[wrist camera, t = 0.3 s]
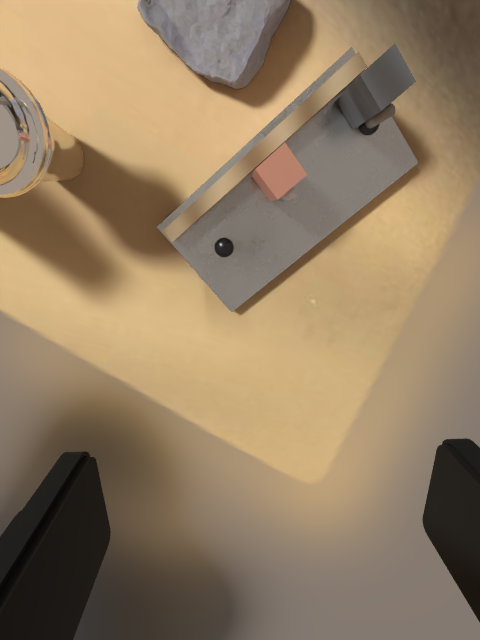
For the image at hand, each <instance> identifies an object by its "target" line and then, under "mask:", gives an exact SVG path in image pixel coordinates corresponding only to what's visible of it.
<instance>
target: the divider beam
mask: <svg viewBox="0 0 480 640" xmlns="http://www.w3.org/2000/svg"><path fill="white" fill-rule="evenodd" d="M366 68H367V65H366V64H365V62H364V60H363V58H362V57H361V55H360V53H359V52H358V53H356V54H355V55H354V56H353V57H352V58H351V59H350V60H349V61H348V62H347V63H345V64H344V65H343V66H342V67H341V68H340V69H339V70H338V71H337V72H336V73H335V74H333V75H332V76H331V77H330V78H329V79H328V80H327V81H326V82H325V83H324V84H323V85H321V86H320V87H319V88H318V89H317V90H316V91H315V92H314V93H313V94H312V95H311V96H309V97H308V98H307V99H306V100H305V101H304V102H303V103H302V104H301V105H300V106H298V107H297V108H296V109H295V110H294V111H293V112H292V113H291V114H290V115H289V116H288V117H286V118H285V119H284V120H283V121H282V122H281V123H280V124H279V125H278V126H277V127H276V128H274V129H273V130H272V131H271V132H270V133H269V134H268V135H267V136H266V137H265V138H263V139H262V140H261V141H260V142H259V143H258V144H257V145H256V146H255V147H254V148H253V149H251V150H250V151H249V152H248V153H247V154H246V155H245V156H244V157H243V158H242V159H241V160H239V161H238V162H237V163H236V164H235V165H234V166H233V167H232V168H231V169H230V170H229V171H227V172H226V173H225V174H224V175H223V176H222V177H221V178H220V179H219V180H218V181H216V182H215V183H214V184H213V185H212V186H211V187H210V188H209V189H208V190H207V191H206V192H204V193H203V194H202V195H201V196H200V197H199V198H198V199H197V200H196V201H195V202H194V203H192V204H191V205H190V206H189V207H188V208H187V209H186V210H185V211H184V212H183V213H182V214H180V215H179V216H178V217H177V218H176V219H175V220H174V221H173V222H172V223H171V224H169V225H168V226H167V227H166V228H165V229H164V230H163V232H164V234H165V235H166V236H167V237H168V238H169V239H170V240H171V242H174V241H175V240H176V239H177V238H179V237H180V236H181V235H182V234H183V233H184V232H185V231H186V230H188V229H189V228H190V227H191V226H192V225H193V224H194V223H195V222H196V221H198V220H199V219H200V218H201V217H202V216H203V215H204V214H205V213H206V212H208V211H209V210H210V209H211V208H212V207H213V206H214V205H215V204H216V203H218V202H219V201H220V200H221V199H222V198H223V197H224V196H225V195H227V194H228V193H229V192H230V191H231V190H232V189H233V188H234V187H235V186H237V185H238V184H239V183H240V182H241V181H242V180H243V179H244V178H245V177H247V176H248V175H249V174H250V173H251V172H252V171H253V170H254V169H256V168H257V167H258V166H259V165H260V164H261V163H262V162H263V161H264V160H266V159H267V158H268V157H269V156H270V155H271V154H272V153H273V152H274V151H276V150H277V149H278V148H279V147H280V146H281V145H282V144H283V143H284V142H286V141H287V140H288V139H289V138H290V137H291V136H292V135H293V134H295V133H296V132H297V131H298V130H299V129H300V128H301V127H302V126H303V125H305V124H306V123H307V122H308V121H309V120H310V119H311V118H312V117H313V116H315V115H316V114H317V113H318V112H319V111H320V110H321V109H322V108H323V107H325V106H326V105H327V104H328V103H329V102H330V101H331V100H332V99H334V98H335V97H336V96H337V95H338V94H339V93H340V92H341V91H342V90H344V89H345V88H346V87H347V86H348V85H349V84H350V83H351V82H352V81H354V80H355V79H356V78H357V77H358V76H359V77H358V78H357V79H356V80H355V81H354V82H353V83H352V84H351V85H350V86H349V87H348V88H347V89H346V90H345V92H344V93H343V94H342V95H341V96H340V97H339V98H338V99H337V100H336V102H337V103H338V105H339V107H340V108H341V110H342V111H343V113H344V115H345V116H346V118H347V120H348V121H349V123H350V124H351V126H352V128H353V129H355V128H357V127H358V126H360V125H361V124H363V123H364V122H365V125H366V127H367V128H373V127H374V126H376V125H378V124H380V123H381V122H383V121H385V120H386V119H388V118H390V117H391V116H393V114H394V113H395V106H394V105H393V104H391V102H392V101H394V100H395V99H396V98H397V97H398V96H399V95H401V94H402V93H403V92H404V91H405V90H406V89H408V88H409V87H410V86H411V85H412V84H413V83H414V82H416V81H415V79H414V77H413V76H412V74H411V72H410V70H409V68H408V66H407V64H406V63H405V61H404V59H403V57H402V55H401V53H400V52H399V50H398V48H397V46H396V44H394V45H393V46H392V47H391V48H389V49H388V50H387V51H386V52H385V53H384V54H383V55H382V56H381V57H379V58H378V59H377V60H376V61H375V62H374V63H373V64H372V65H370V66H369V67H368V68H367V69H366ZM365 69H366V70H365ZM364 70H365V71H364ZM363 71H364V72H363ZM362 72H363V73H362ZM361 73H362V74H361Z"/></svg>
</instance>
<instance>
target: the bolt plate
mask: <svg viewBox="0 0 480 640" xmlns="http://www.w3.org/2000/svg"><path fill="white" fill-rule="evenodd" d="M354 55H355V52H354V50H353V48H352V47H351V48H350V49H349V50H348V51H347V52H346V53H345V54H344V55H343V56H342V57H341V58H339V59H338V60H337V61H336V62H335V63H334V64H333V65H332V66H331V67H330V68H329V69H328V70H326V71H325V72H324V73H323V74H322V75H321V76H320V77H319V78H318V79H317V80H316V81H314V82H313V83H312V84H311V85H310V86H309V87H308V88H307V89H306V90H305V91H304V92H303V93H301V94H300V95H299V96H298V97H297V98H296V99H295V100H294V101H293V102H292V103H291V104H290V105H288V106H287V107H286V108H285V109H284V110H283V111H282V112H281V113H280V114H279V115H278V116H277V117H275V118H274V119H273V120H272V121H271V122H270V123H269V124H268V125H267V126H266V127H265V128H264V129H262V130H261V131H260V132H259V133H258V134H257V135H256V136H255V137H254V138H253V139H252V140H251V141H249V142H248V143H247V144H246V145H245V146H244V147H243V148H242V149H241V150H240V151H239V152H238V153H236V154H235V155H234V156H233V157H232V158H231V159H230V160H229V161H228V162H227V163H226V164H225V165H223V166H222V167H221V168H220V169H219V170H218V171H217V172H216V173H215V174H214V175H213V176H211V177H210V178H209V179H208V180H207V181H206V182H205V183H204V184H203V185H202V186H201V187H200V188H198V189H197V190H196V191H195V192H194V193H193V194H192V195H191V196H190V197H189V198H188V199H187V200H185V201H184V202H183V203H182V204H181V205H180V206H179V207H178V208H177V209H176V210H175V211H174V212H172V213H171V214H170V215H169V216H168V217H167V218H166V219H165V220H164V221H163V222H162V223H161V224H159V225H158V226H157V228H158V229H159V230H160V232H161V233H162V234H163V235H164V236H165V237H166V238H167V240H168V241H169V242H170V243H171V244H172V245H173V246H174V247H175V249H176V250H177V251H178V252H179V253H180V254H181V255H182V257H183V258H184V259H185V260H186V261H187V262H188V263H189V264H190V266H191V267H192V268H193V269H194V270H195V271H196V272H197V274H198V275H199V276H200V277H201V278H202V279H203V280H204V282H205V283H206V284H207V285H208V286H209V287H210V288H211V289H212V291H213V292H214V293H215V294H216V295H217V296H218V297H219V299H220V300H221V301H222V302H223V303H224V304H225V305H226V306H227V308H228V309H229V310H230V311H231V312H233V311H234V310H235V309H237V308H238V307H239V306H240V305H242V304H243V303H244V302H245V301H247V300H248V299H249V298H250V297H252V296H253V295H254V294H255V293H257V292H258V291H259V290H260V289H262V288H263V287H264V286H265V285H267V284H268V283H269V282H270V281H272V280H273V279H274V278H275V277H277V276H278V275H279V274H280V273H282V272H283V271H284V270H285V269H287V268H288V267H289V266H290V265H292V264H293V263H294V262H295V261H297V260H298V259H299V258H300V257H301V256H303V255H304V254H305V253H306V252H308V251H309V250H310V249H311V248H313V247H314V246H315V245H316V244H318V243H319V242H320V241H321V240H323V239H324V238H325V237H326V236H328V235H329V234H330V233H331V232H333V231H334V230H335V229H336V228H338V227H339V226H340V225H341V224H343V223H344V222H345V221H346V220H348V219H349V218H350V217H351V216H353V215H354V214H355V213H356V212H358V211H359V210H360V209H361V208H363V207H364V206H365V205H366V204H368V203H369V202H370V201H371V200H373V199H374V198H375V197H376V196H378V195H379V194H380V193H381V192H383V191H384V190H385V189H386V188H388V187H389V186H390V185H391V184H393V183H394V182H395V181H396V180H398V179H399V178H400V177H401V176H403V175H404V174H405V173H406V172H408V171H409V170H410V169H411V168H413V167H414V166H415V165H416V164H418V163H419V162H418V161H417V159H416V157H415V156H414V154H413V152H412V150H411V149H410V147H409V145H408V143H407V142H406V140H405V138H404V137H403V135H402V133H401V131H400V130H399V128H398V126H397V124H396V123H395V121H394V119H393V118H392V116H391V117H390V118H388V119H386V120H385V121H383V122H381V123H380V124H378V125H376V126H374V127H373V128H367V127H366V125H365V122H364V123H363V124H361V125H360V126H358V127H357V128H355V129H353V128H352V126H351V124H350V123H349V121H348V120H347V118H346V116H345V115H344V113H343V111H342V110H341V108H340V107H339V105H338V103H337V102H336V100H337V99H338V98H339V97H340V96H341V95H342V94H343V93H344V92H345V90H346V89H347V88H348V87H349V86H350V85H351V84H352V83H353V82H354V81H355V80H356V79H357V78H358V77H359V76H358V77H357V78H356V79H355V80H354V81H352V82H351V83H350V84H349V85H348V86H347V87H346V88H345V89H344V90H342V91H341V92H340V93H339V94H338V95H337V96H336V97H335V98H334V99H332V100H331V101H330V102H329V103H328V104H327V105H326V106H325V107H323V108H322V109H321V110H320V111H319V112H318V113H317V114H316V115H315V116H313V117H312V118H311V119H310V120H309V121H308V122H307V123H306V124H305V125H303V126H302V127H301V128H300V129H299V130H298V131H297V132H296V133H295V134H293V135H292V136H291V137H290V138H289V139H288V140H287V141H286V142H284V143H286V145H287V146H288V147H289V149H290V150H291V152H292V153H293V155H294V156H295V158H296V159H297V160H298V162H299V163H300V165H301V166H302V168H303V169H304V171H305V172H306V173H307V175H306V176H305V177H304V178H303V179H301V180H300V181H299V182H298V183H297V184H296V185H295V186H293V187H292V188H295V189H296V190H297V196H296V198H295V199H293V200H287V201H283V200H282V199H281V198H279V199H278V200H275V201H271V202H270V201H269V200H268V198H267V197H266V196H265V194H264V193H263V192H262V190H261V189H260V188H259V186H258V185H257V183H256V182H255V181H254V179H253V178H252V177H251V176H252V174H253V172H254V170H255V169H254V170H253V171H252V172H251V173H250V174H249V175H248V176H247V177H245V178H244V179H243V180H242V181H241V182H240V183H239V184H238V185H237V186H235V187H234V188H233V189H232V190H231V191H230V192H229V193H228V194H227V195H225V196H224V197H223V198H222V199H221V200H220V201H219V202H218V203H216V204H215V205H214V206H213V207H212V208H211V209H210V210H209V211H208V212H206V213H205V214H204V215H203V216H202V217H201V218H200V219H199V220H198V221H196V222H195V223H194V224H193V225H192V226H191V227H190V228H189V229H188V230H186V231H185V232H184V233H183V234H182V235H181V236H180V237H179V238H177V239H176V240H175V241H174V242H171V240H170V239H169V238H168V237H167V236H166V235H165V234H164V232H163V230H164V229H165V228H166V227H167V226H168V225H169V224H171V223H172V222H173V221H174V220H175V219H176V218H177V217H178V216H179V215H180V214H182V213H183V212H184V211H185V210H186V209H187V208H188V207H189V206H190V205H191V204H192V203H194V202H195V201H196V200H197V199H198V198H199V197H200V196H201V195H202V194H203V193H204V192H206V191H207V190H208V189H209V188H210V187H211V186H212V185H213V184H214V183H215V182H216V181H218V180H219V179H220V178H221V177H222V176H223V175H224V174H225V173H226V172H227V171H229V170H230V169H231V168H232V167H233V166H234V165H235V164H236V163H237V162H238V161H239V160H241V159H242V158H243V157H244V156H245V155H246V154H247V153H248V152H249V151H250V150H251V149H253V148H254V147H255V146H256V145H257V144H258V143H259V142H260V141H261V140H262V139H263V138H265V137H266V136H267V135H268V134H269V133H270V132H271V131H272V130H273V129H274V128H276V127H277V126H278V125H279V124H280V123H281V122H282V121H283V120H284V119H285V118H286V117H288V116H289V115H290V114H291V113H292V112H293V111H294V110H295V109H296V108H297V107H298V106H300V105H301V104H302V103H303V102H304V101H305V100H306V99H307V98H308V97H309V96H311V95H312V94H313V93H314V92H315V91H316V90H317V89H318V88H319V87H320V86H321V85H323V84H324V83H325V82H326V81H327V80H328V79H329V78H330V77H331V76H332V75H333V74H335V73H336V72H337V71H338V70H339V69H340V68H341V67H342V66H343V65H344V64H345V63H347V62H348V61H349V60H350V59H351V58H352V57H353V56H354ZM364 71H365V70H364ZM364 71H363V72H364ZM363 72H362V73H363ZM362 73H361V74H362ZM284 143H283V144H284ZM274 152H275V151H274ZM274 152H273V153H274ZM264 161H265V160H264Z"/></svg>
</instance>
